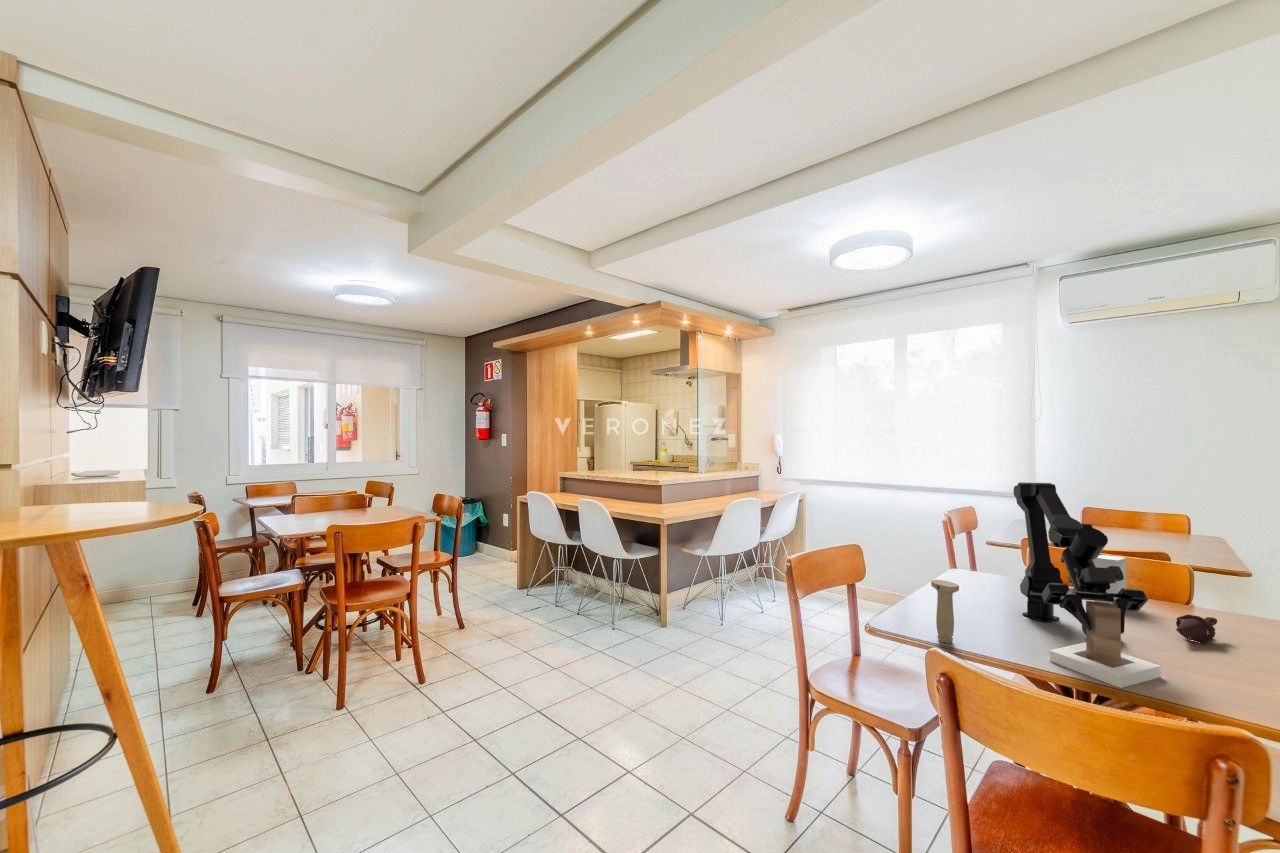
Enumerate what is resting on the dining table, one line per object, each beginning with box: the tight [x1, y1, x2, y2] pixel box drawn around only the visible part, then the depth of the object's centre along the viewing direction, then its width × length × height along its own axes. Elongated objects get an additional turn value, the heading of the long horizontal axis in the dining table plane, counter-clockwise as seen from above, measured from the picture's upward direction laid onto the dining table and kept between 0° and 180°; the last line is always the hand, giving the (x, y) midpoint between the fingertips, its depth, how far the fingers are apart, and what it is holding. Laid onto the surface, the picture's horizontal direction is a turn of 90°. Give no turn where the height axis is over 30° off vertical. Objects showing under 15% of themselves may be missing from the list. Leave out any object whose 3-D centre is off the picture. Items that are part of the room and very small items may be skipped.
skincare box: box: [1093, 554, 1128, 603], centre depth 164 cm, size 8×6×15 cm
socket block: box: [1049, 641, 1162, 689], centre depth 120 cm, size 14×14×2 cm
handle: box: [930, 579, 960, 644], centre depth 136 cm, size 5×6×15 cm
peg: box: [1085, 600, 1122, 668], centre depth 120 cm, size 4×4×14 cm
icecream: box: [1175, 614, 1218, 644], centre depth 135 cm, size 7×7×15 cm
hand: (1106, 631), depth 119 cm, fingers open, 6 cm apart
